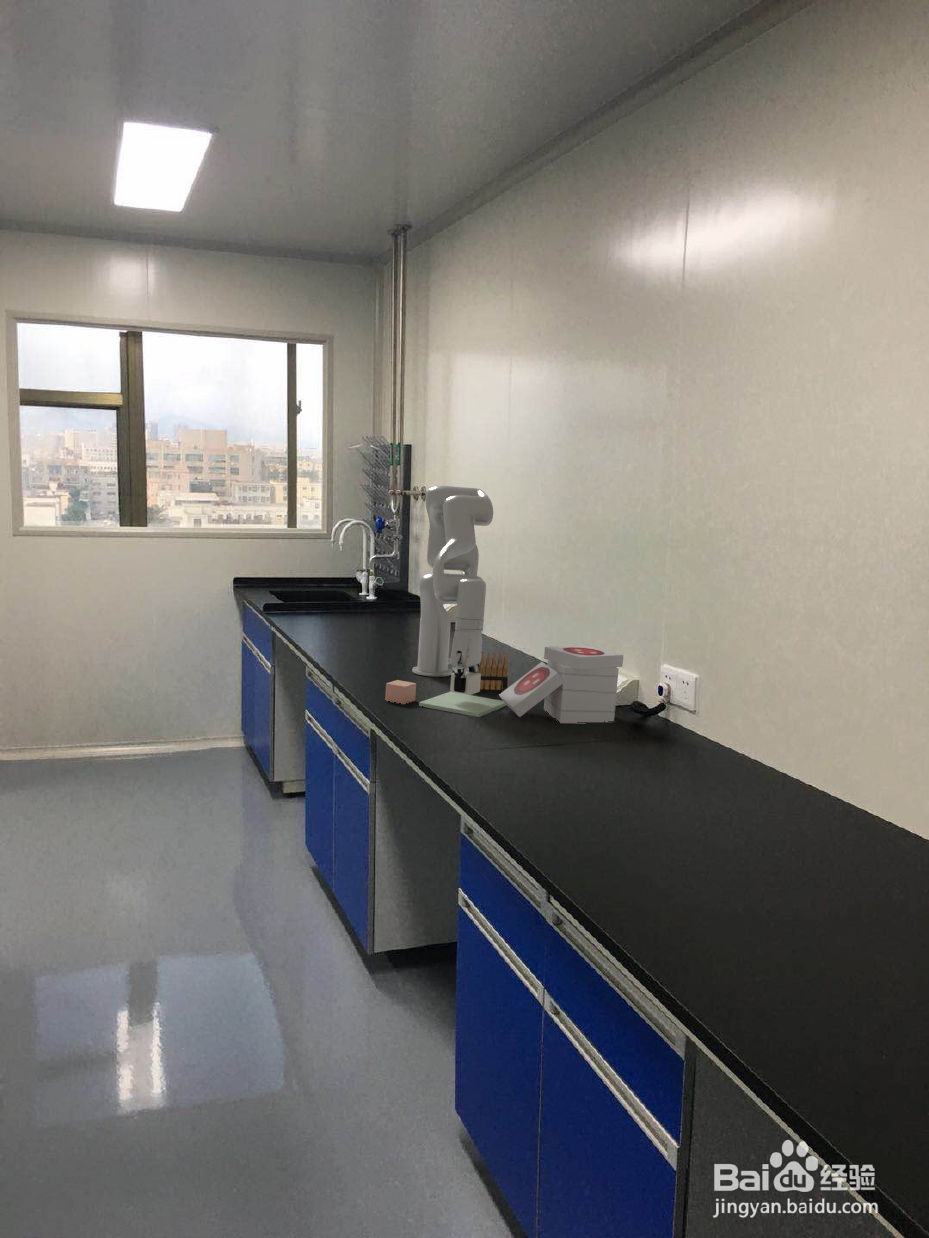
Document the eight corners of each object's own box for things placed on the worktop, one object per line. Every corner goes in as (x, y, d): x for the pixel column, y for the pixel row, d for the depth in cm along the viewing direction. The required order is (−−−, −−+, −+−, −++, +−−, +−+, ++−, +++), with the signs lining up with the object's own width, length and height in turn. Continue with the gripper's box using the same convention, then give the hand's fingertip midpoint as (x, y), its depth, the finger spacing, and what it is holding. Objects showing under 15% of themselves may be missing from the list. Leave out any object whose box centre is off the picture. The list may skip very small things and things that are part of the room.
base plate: (450, 695, 281) (450, 691, 281) (507, 705, 273) (507, 701, 273) (418, 705, 265) (419, 702, 265) (478, 717, 257) (479, 713, 257)
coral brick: (396, 697, 274) (397, 679, 273) (415, 701, 271) (416, 683, 270) (385, 701, 268) (386, 683, 268) (404, 704, 266) (405, 686, 265)
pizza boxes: (496, 707, 270) (500, 642, 267) (599, 708, 276) (605, 645, 274) (514, 724, 251) (519, 655, 249) (624, 726, 258) (630, 658, 255)
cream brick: (460, 688, 272) (461, 670, 271) (479, 691, 269) (480, 673, 269) (450, 691, 267) (451, 673, 266) (469, 695, 264) (471, 676, 263)
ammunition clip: (505, 692, 289) (508, 652, 288) (507, 694, 288) (510, 653, 286) (470, 691, 287) (473, 651, 286) (471, 693, 285) (474, 652, 284)
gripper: (471, 619, 275) (467, 683, 277) (442, 625, 260) (437, 692, 262) (495, 623, 272) (491, 687, 274) (467, 629, 256) (462, 697, 259)
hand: (465, 689), depth 268 cm, fingers closed on cream brick, 6 cm apart
